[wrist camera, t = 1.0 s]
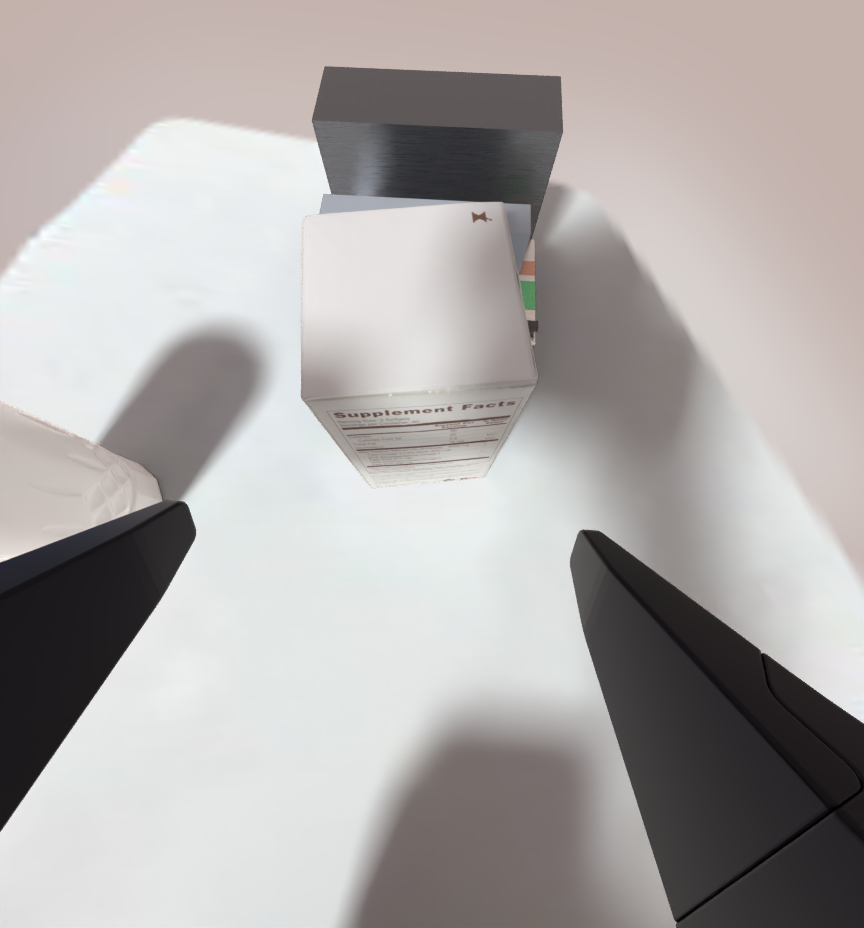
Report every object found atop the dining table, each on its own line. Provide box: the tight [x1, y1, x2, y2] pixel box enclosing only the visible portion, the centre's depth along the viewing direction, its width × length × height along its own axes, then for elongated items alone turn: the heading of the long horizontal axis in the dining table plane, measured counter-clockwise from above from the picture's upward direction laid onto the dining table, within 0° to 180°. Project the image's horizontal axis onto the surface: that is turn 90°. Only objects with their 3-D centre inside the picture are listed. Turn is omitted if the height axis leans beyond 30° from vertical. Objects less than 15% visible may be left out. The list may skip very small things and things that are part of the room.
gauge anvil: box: [312, 67, 563, 348], centre depth 22 cm, size 12×12×10 cm
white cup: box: [0, 401, 163, 562], centre depth 17 cm, size 8×8×10 cm
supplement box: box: [301, 202, 538, 488], centre depth 18 cm, size 7×7×13 cm
